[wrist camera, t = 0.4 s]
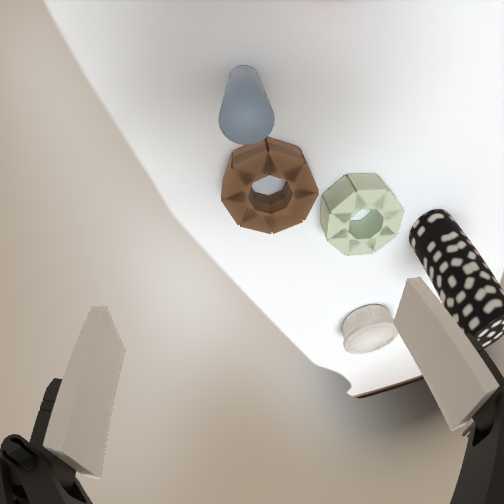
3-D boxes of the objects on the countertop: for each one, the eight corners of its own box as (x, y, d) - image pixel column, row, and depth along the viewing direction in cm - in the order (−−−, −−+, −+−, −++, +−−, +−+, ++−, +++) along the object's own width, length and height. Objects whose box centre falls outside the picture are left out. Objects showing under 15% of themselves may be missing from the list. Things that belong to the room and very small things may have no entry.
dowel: (250, 60, 26) (259, 84, 14) (263, 84, 28) (283, 131, 16) (224, 73, 27) (208, 109, 15) (237, 96, 28) (235, 153, 16)
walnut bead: (289, 125, 31) (295, 137, 28) (320, 194, 37) (327, 212, 34) (209, 162, 34) (206, 178, 30) (249, 223, 40) (250, 243, 37)
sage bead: (362, 158, 33) (374, 173, 30) (402, 205, 38) (414, 221, 35) (305, 209, 38) (311, 228, 35) (350, 246, 43) (357, 265, 40)
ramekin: (360, 338, 61) (366, 358, 57) (326, 325, 56) (332, 348, 52) (400, 310, 55) (408, 331, 51) (369, 292, 50) (378, 316, 47)
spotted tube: (459, 219, 40) (523, 315, 25) (430, 255, 45) (480, 354, 30) (430, 201, 38) (503, 308, 23) (399, 242, 43) (453, 352, 28)
